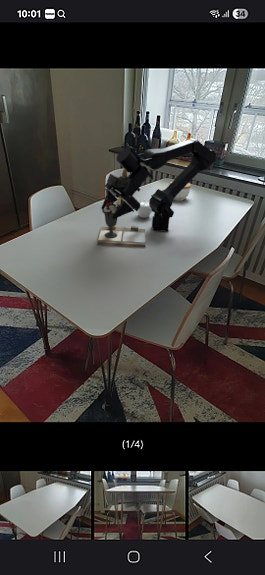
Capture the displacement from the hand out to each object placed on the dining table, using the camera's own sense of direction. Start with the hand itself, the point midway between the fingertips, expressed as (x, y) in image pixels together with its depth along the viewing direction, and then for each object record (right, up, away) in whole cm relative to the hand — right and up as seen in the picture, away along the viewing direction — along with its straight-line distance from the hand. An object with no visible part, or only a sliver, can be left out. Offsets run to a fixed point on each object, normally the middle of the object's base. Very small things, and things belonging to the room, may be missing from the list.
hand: (107, 213), depth 117 cm
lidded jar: (+33, +19, +49) cm, 62 cm away
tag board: (+5, -8, +7) cm, 12 cm away
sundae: (+1, -7, +6) cm, 9 cm away
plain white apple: (+15, +5, +26) cm, 31 cm away
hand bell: (+5, +15, +40) cm, 42 cm away
